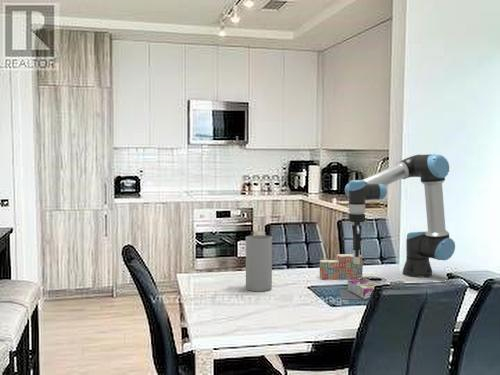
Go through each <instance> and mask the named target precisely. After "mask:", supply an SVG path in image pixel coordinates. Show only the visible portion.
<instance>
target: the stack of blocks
mask: <svg viewBox="0 0 500 375" xmlns="http://www.w3.org/2000/svg"><path fill="white" fill-rule="evenodd" d="M353 254H354V253H349V254H348V253H347V254H346V253H345V254H342V253H340V254H336V259H319V278H320V280H322V281H323V280H325V281H326V280H329V281H330V280H338V281H339V280H341V281H342V280H360V279H359V278H361V277H362V278H363V266H364V264H363V262H364V261H363V256H362V254H360V264H354V263H353Z"/></svg>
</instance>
